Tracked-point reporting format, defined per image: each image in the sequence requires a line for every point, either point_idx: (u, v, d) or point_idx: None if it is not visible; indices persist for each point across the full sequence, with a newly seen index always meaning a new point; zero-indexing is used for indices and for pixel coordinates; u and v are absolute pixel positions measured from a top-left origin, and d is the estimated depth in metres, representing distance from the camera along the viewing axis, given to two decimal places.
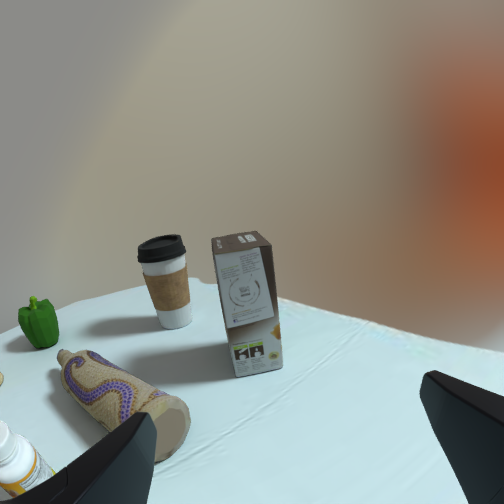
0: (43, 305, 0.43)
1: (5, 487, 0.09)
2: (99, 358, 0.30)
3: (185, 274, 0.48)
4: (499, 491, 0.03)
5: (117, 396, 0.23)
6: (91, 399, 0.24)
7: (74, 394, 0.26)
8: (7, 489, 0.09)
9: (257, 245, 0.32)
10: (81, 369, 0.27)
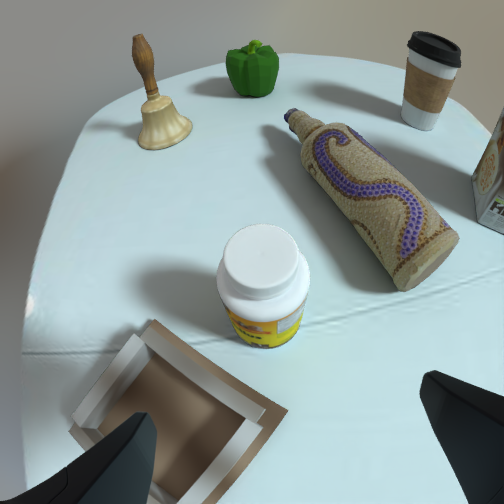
0: (268, 52, 0.37)
1: (246, 322, 0.17)
2: (365, 142, 0.27)
3: None
4: (498, 491, 0.03)
5: (403, 207, 0.21)
6: (360, 194, 0.24)
7: (324, 175, 0.27)
8: (246, 324, 0.17)
9: None
10: (347, 150, 0.26)
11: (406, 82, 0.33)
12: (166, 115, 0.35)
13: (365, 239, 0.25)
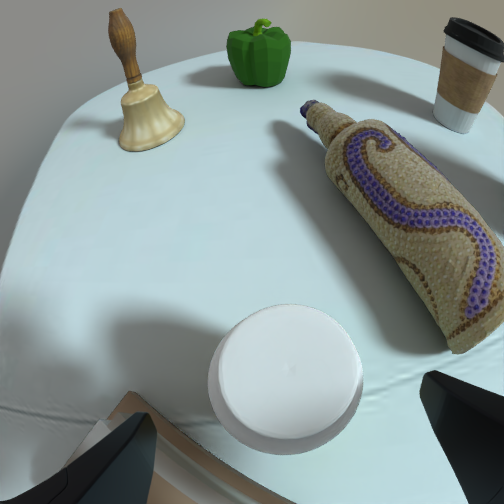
0: (278, 33, 0.29)
1: None
2: (412, 147, 0.19)
3: (493, 82, 0.21)
4: (498, 491, 0.03)
5: (472, 246, 0.13)
6: (413, 224, 0.16)
7: (360, 191, 0.19)
8: None
9: None
10: (392, 158, 0.18)
11: (442, 75, 0.25)
12: (151, 108, 0.27)
13: (414, 284, 0.17)
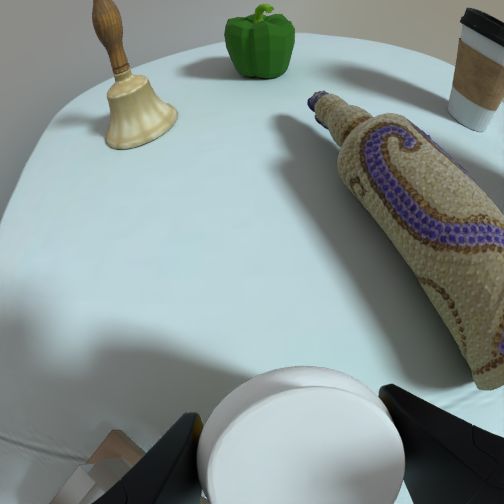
0: (281, 20, 0.25)
1: None
2: (439, 147, 0.15)
3: None
4: None
5: None
6: (444, 240, 0.12)
7: (380, 198, 0.16)
8: None
9: None
10: (418, 159, 0.14)
11: (459, 68, 0.22)
12: (139, 101, 0.24)
13: (440, 310, 0.14)
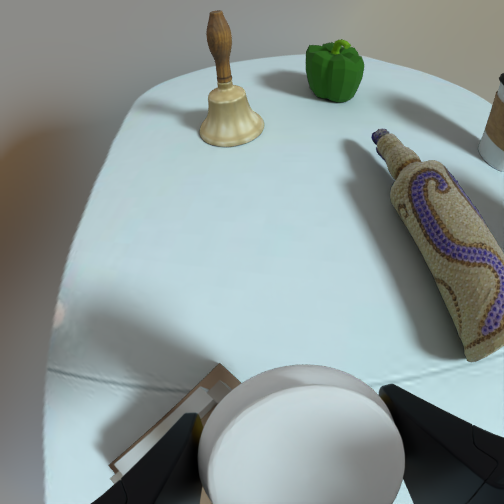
0: (354, 55, 0.31)
1: None
2: (462, 191, 0.21)
3: None
4: None
5: (495, 281, 0.16)
6: (455, 256, 0.19)
7: (418, 221, 0.22)
8: None
9: None
10: (446, 199, 0.20)
11: (492, 118, 0.26)
12: (238, 109, 0.31)
13: (447, 302, 0.20)
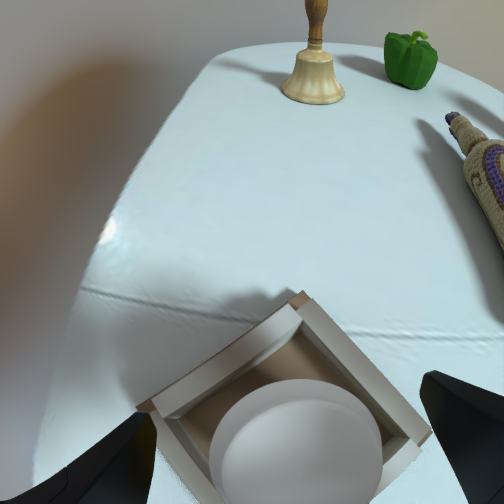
0: (430, 47, 0.28)
1: None
2: None
3: None
4: (499, 491, 0.03)
5: None
6: None
7: (491, 189, 0.19)
8: None
9: None
10: None
11: None
12: (325, 70, 0.29)
13: None
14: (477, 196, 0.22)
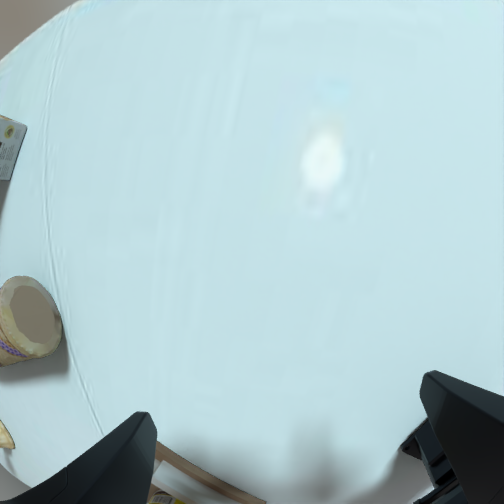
0: None
1: None
2: None
3: None
4: (498, 491, 0.03)
5: None
6: None
7: None
8: None
9: None
10: None
11: None
12: None
13: None
14: None
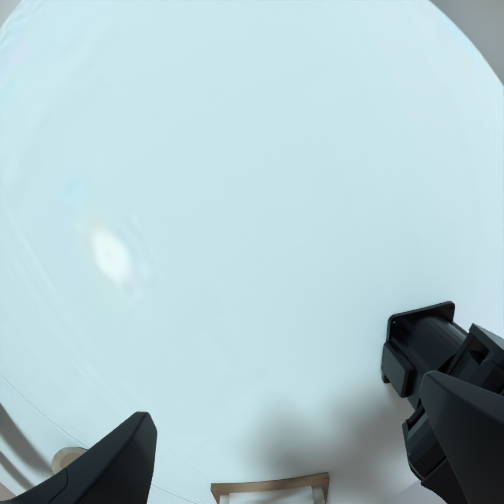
0: None
1: None
2: None
3: None
4: (499, 492, 0.03)
5: None
6: None
7: None
8: None
9: None
10: None
11: None
12: None
13: None
14: None
